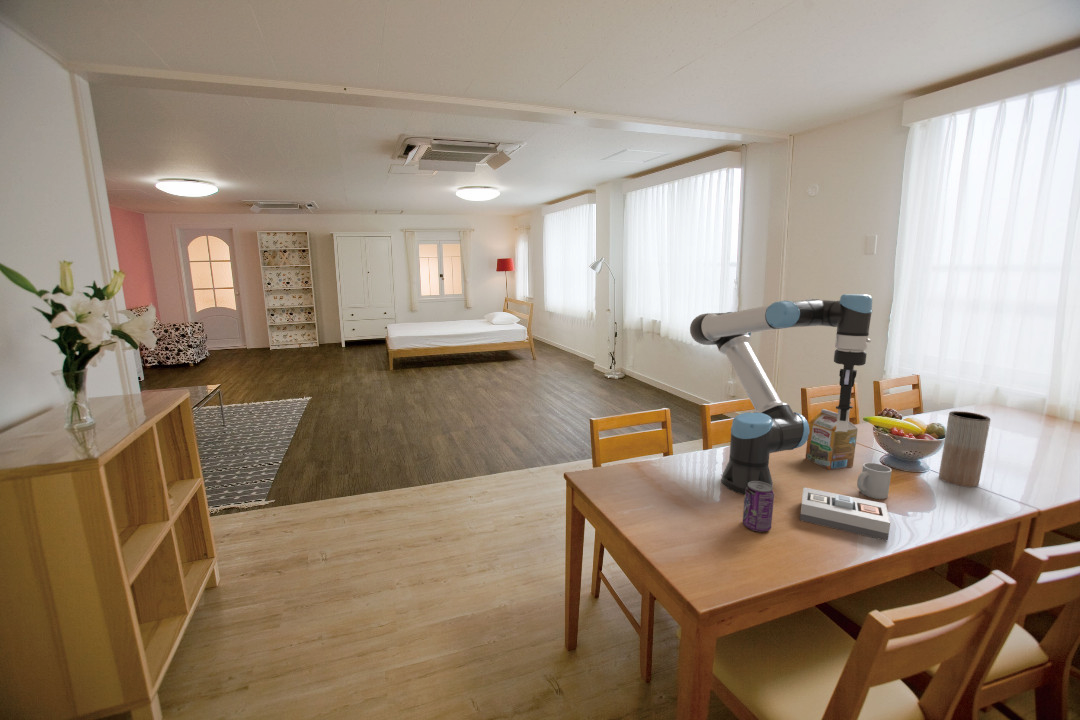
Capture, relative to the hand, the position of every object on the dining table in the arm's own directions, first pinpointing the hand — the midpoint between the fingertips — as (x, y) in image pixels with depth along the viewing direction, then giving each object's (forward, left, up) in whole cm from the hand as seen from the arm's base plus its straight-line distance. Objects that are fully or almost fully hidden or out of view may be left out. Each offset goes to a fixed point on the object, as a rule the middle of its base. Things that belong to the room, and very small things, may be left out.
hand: (841, 430), depth 136 cm
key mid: (+2, -8, -20) cm, 22 cm away
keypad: (+2, -8, -23) cm, 25 cm away
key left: (-4, -9, -21) cm, 23 cm away
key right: (+8, -9, -21) cm, 24 cm away
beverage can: (-18, -25, -24) cm, 38 cm away
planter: (+36, +42, -24) cm, 60 cm away
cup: (+10, +15, -24) cm, 30 cm away
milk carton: (-1, +37, -24) cm, 44 cm away
